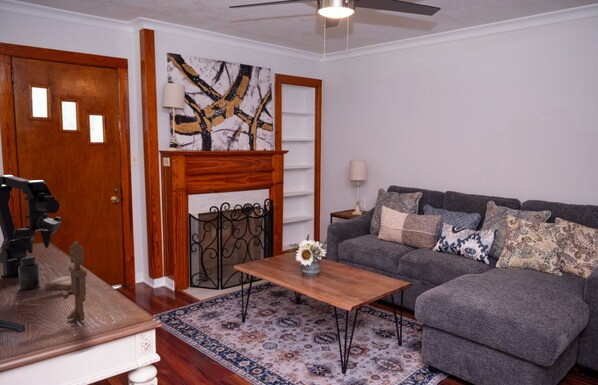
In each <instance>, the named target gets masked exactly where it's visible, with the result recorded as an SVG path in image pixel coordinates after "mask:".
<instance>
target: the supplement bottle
mask: <svg viewBox="0 0 598 385" xmlns="http://www.w3.org/2000/svg"><path fill="white" fill-rule="evenodd" d="M36 261H37V259H36V256H35V255H29V256H28V255H26V257H22V258H21V263H22V264H21V265H20V266H19V267H18V272H19V276H18V282H19V283H18V284H19V285H18V286H19V289H20V290H22V291H29V290H34V289H38V288H40V286H41V281H40V280H41V278H40V265H39V264H38V263H37V262H36Z"/></svg>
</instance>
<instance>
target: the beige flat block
mask: <svg viewBox="0 0 598 385" xmlns="http://www.w3.org/2000/svg"><path fill="white" fill-rule="evenodd" d="M85 280H86V278H85ZM44 286H45V289H47V290H66V289H68V290H67V291H71V290H72V286H71V275H70V276H68V275H67V276H66V275H65V276H64V275H62V276H60V277H58V278H56V279H53V280H51V281H49V282H46V283H45V285H44Z"/></svg>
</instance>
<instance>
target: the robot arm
mask: <svg viewBox="0 0 598 385" xmlns="http://www.w3.org/2000/svg"><path fill="white" fill-rule="evenodd" d="M14 189H17V190H20V191H21V193H22V194H24V195H25V196H26V197H25V198H24V201H27V213H28V214H25V218H26V219H28V224H27V225H26V227H22V228H16V226H15V223H14V219H13V216H12V211H11V208H10V205H9V203H10V199H11V197H12V196H11V192H13V190H14ZM60 206H61V205H60V203H59V201H58V200H57V199H55V196H54V195H52V191H51V190H50V189H49V186H48V185H47V183H46V182H45V180H43V179H38V180H37V179H36V180H35V179H31V180H29V179H26V178H22V177H18V176H14V175H12V174H4V175H0V230H1V233H2V237H3V241H2V243H1V247H0V248H1V252H0V264H2V265H3V266H2V267H3V268H2V269H3V274H2V275H0V277H1V278H16V277H19V272H18V267H19V266H20V265H21V264H22V263H21V258H22V257H26V256H28V255H27V254H28V253H29V254H33V251H34V250H33V249H34V248H33V247H34V246H33V245H34V244H33V243H34V240H35V238H36V237H37V236H35V235H36V233H38V232H40V236H41V239H42V242H43V246H44V248H45V249H46V248H50V247H49V246H50V243H51V240H52V237H53V234H55V233H56V232H57V231H58V230H59V229H60V226H62V225H63V224H62V218H61V217H60V216H56V217H54V218H50V217H49V214H50V215H51V214H52V215H53V214H56V213H57V212H59V211H60Z"/></svg>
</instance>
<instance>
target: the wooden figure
mask: <svg viewBox="0 0 598 385" xmlns="http://www.w3.org/2000/svg"><path fill="white" fill-rule="evenodd" d="M84 252H85V251H84V247H83V246H81V245H80V244H79V241H77V240H76V241H74V242H73V243H72V245H70V247H69V256H70V258H69V259H70V263H71V264H73V265H69V266H68V271H69V272H70V277H71V286H72V289H71V290H67V291H66V289H60V290H59V293H58V292H57V293H52V294H48V295H43V296H38V297H31V298H26V299H23V300H21V305H22V306H24V305H28V304H33V303H39V302H42V301H43V302H44V301H49V300H53V299H58V298H63V299H64V300H66V299H69V296H74V304H75V305H74V309H73V310H72V311H71V313H70V314H69V315H68V316H67V317H66V319H67V320H69V323H70V324H74V323H77V324H78V325H79V327H81V328H82V327H83V326H82V325H83V324H81V321H84V320H85V311H84V303H85V302H86V294H87V292H86V281H85V279H86V277H87V276H88V274H87V271H86V270H85V269H84V267H82V266H81V265H83V264H84V263H85V257H84V256H85V255H84Z"/></svg>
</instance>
